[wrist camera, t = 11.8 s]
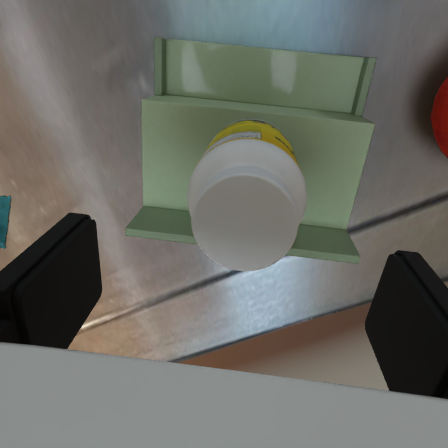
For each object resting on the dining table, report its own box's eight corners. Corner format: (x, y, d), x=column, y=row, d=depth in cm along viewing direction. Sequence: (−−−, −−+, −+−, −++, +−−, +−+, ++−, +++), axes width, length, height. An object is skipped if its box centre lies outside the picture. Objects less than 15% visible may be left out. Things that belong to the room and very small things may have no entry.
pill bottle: (299, 192, 25) (326, 276, 15) (219, 208, 26) (195, 295, 16) (285, 106, 23) (305, 140, 13) (197, 128, 24) (154, 174, 14)
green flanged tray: (166, 39, 28) (116, 27, 18) (362, 58, 27) (421, 56, 17) (164, 184, 34) (125, 235, 24) (328, 203, 33) (358, 264, 23)
